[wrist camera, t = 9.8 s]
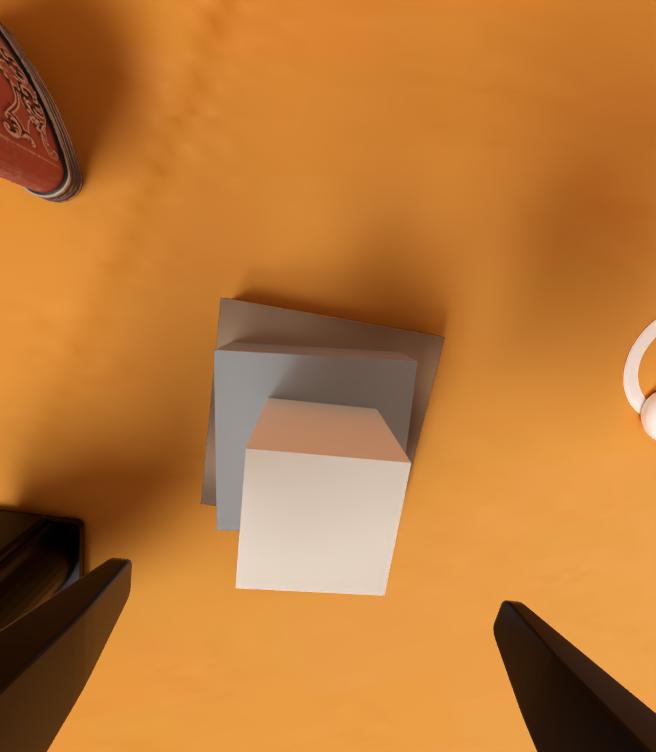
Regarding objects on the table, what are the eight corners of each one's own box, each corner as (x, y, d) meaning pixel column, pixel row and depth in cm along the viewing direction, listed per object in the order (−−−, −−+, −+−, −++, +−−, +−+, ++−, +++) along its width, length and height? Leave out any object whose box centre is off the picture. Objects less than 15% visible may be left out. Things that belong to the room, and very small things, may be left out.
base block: (384, 497, 22) (396, 526, 19) (215, 476, 21) (200, 503, 18) (424, 332, 20) (444, 337, 17) (234, 298, 19) (221, 297, 16)
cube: (360, 503, 15) (384, 595, 11) (259, 495, 15) (235, 588, 10) (376, 408, 14) (411, 463, 9) (268, 397, 14) (245, 448, 9)
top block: (381, 497, 19) (395, 532, 16) (231, 494, 18) (216, 530, 15) (399, 351, 17) (417, 361, 14) (231, 341, 16) (213, 350, 13)
